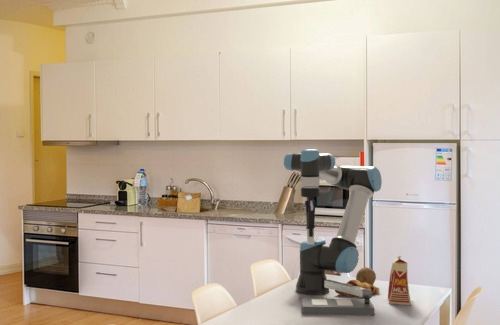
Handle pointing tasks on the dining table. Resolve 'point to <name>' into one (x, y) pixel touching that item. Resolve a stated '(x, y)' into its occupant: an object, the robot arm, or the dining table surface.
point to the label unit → (338, 306)
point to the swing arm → (348, 288)
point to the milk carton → (399, 283)
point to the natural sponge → (366, 275)
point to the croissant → (359, 284)
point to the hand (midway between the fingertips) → (310, 244)
